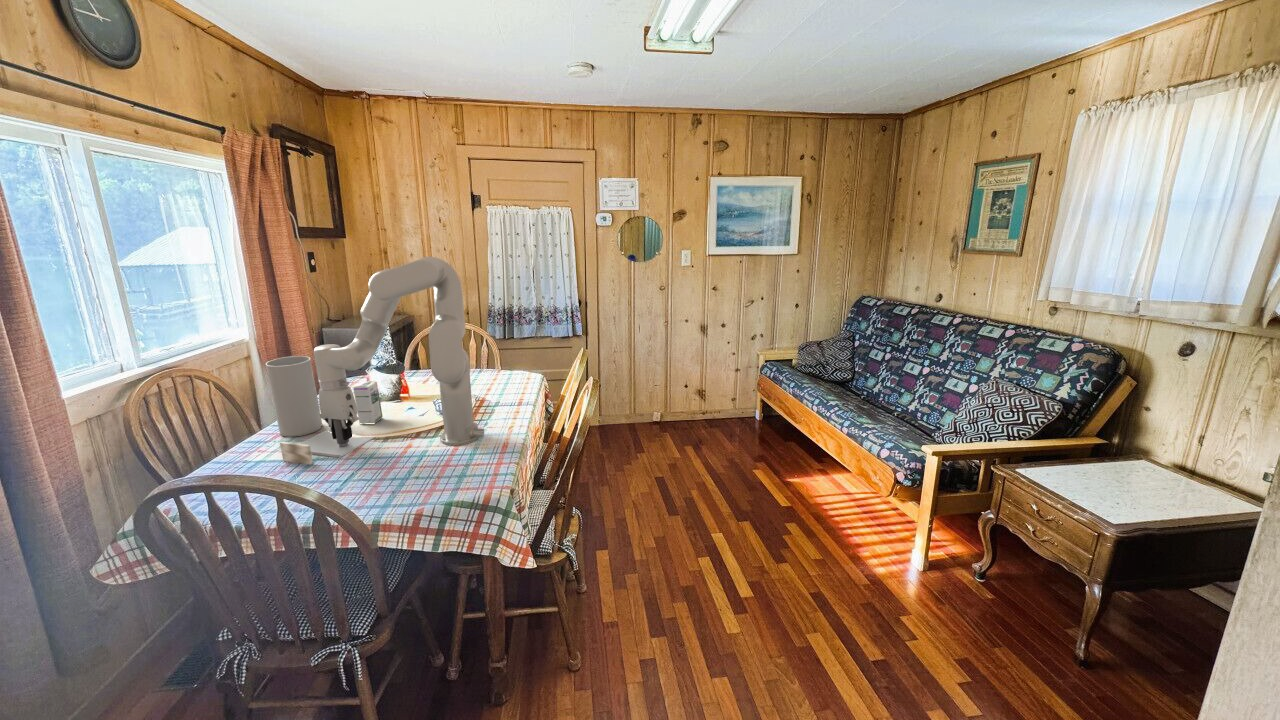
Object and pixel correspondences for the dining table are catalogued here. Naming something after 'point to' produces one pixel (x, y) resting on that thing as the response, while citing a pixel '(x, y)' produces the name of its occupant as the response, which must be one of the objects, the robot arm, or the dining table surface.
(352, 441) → the notepad
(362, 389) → the syrup box
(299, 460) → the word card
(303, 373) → the cylinder vase
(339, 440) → the marker
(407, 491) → the dining table surface
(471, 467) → the dining table surface
